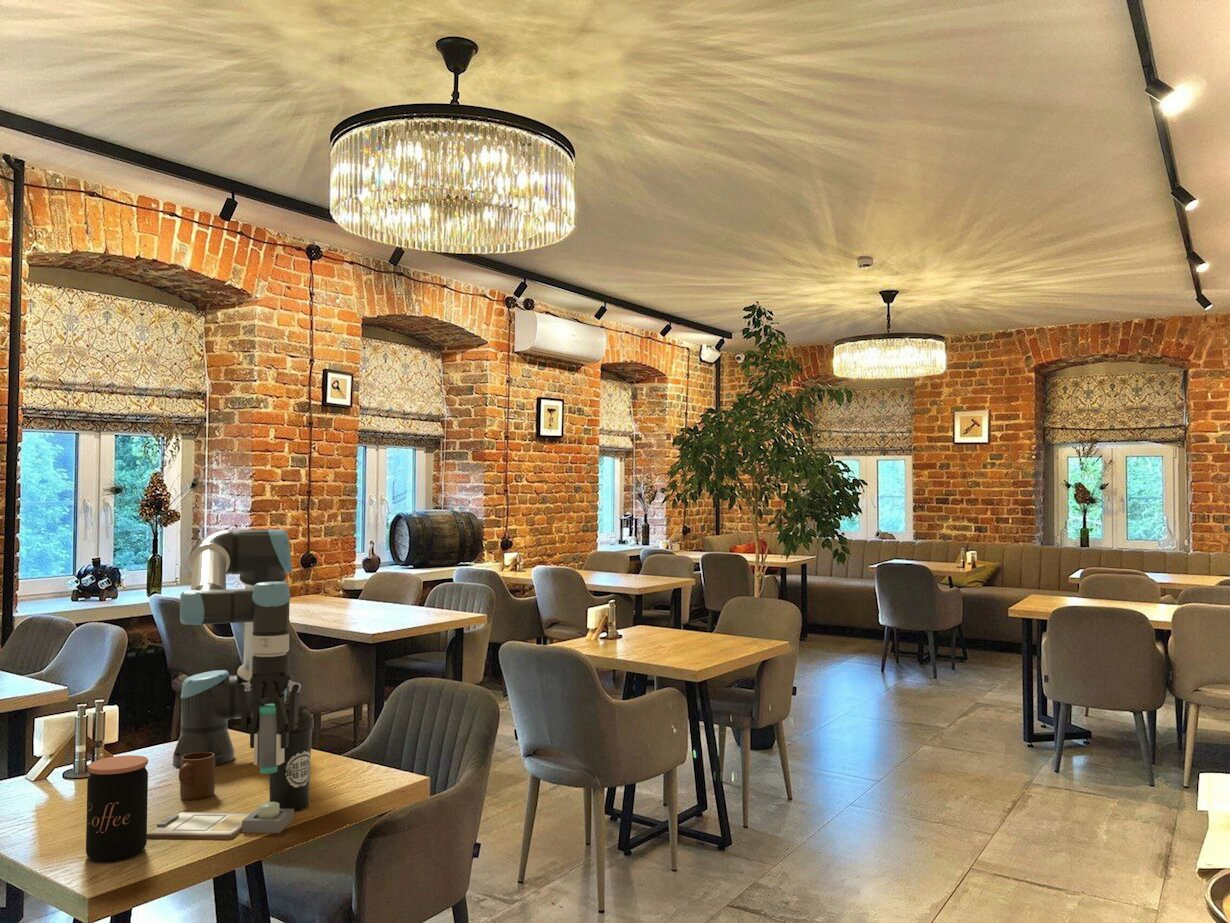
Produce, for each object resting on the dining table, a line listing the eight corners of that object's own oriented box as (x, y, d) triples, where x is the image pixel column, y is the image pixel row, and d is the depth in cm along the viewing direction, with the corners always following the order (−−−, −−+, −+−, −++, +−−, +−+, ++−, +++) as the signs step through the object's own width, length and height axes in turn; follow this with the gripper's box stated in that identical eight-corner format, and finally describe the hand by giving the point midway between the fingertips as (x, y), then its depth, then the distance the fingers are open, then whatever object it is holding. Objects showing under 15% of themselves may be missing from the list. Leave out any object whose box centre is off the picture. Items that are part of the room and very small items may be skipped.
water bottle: (282, 817, 209) (284, 712, 210) (256, 808, 216) (258, 706, 216) (321, 805, 217) (323, 704, 218) (295, 797, 224) (296, 698, 225)
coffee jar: (72, 862, 183) (74, 768, 184) (111, 842, 194) (113, 753, 194) (121, 866, 181) (123, 771, 182) (158, 846, 192) (159, 756, 193)
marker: (263, 768, 206) (264, 703, 207) (282, 769, 206) (283, 703, 206) (254, 773, 202) (255, 707, 203) (273, 774, 201) (275, 707, 202)
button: (262, 815, 206) (262, 801, 206) (282, 816, 206) (282, 802, 206) (253, 822, 201) (254, 808, 202) (274, 822, 201) (274, 808, 201)
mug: (196, 807, 216) (197, 765, 217) (164, 806, 217) (164, 765, 217) (220, 791, 228) (221, 751, 229) (189, 790, 229) (190, 751, 229)
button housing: (257, 819, 208) (257, 808, 208) (293, 820, 207) (293, 808, 207) (241, 832, 200) (241, 820, 200) (279, 833, 199) (279, 821, 199)
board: (179, 815, 210) (179, 808, 211) (259, 816, 210) (259, 809, 210) (145, 838, 196) (146, 830, 197) (230, 839, 196) (231, 831, 196)
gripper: (223, 656, 202) (222, 767, 201) (303, 656, 201) (301, 768, 200) (239, 651, 209) (237, 758, 208) (315, 651, 208) (314, 759, 207)
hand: (269, 763), depth 204 cm, fingers closed on marker, 4 cm apart
